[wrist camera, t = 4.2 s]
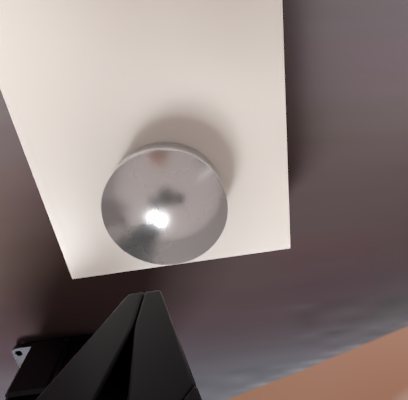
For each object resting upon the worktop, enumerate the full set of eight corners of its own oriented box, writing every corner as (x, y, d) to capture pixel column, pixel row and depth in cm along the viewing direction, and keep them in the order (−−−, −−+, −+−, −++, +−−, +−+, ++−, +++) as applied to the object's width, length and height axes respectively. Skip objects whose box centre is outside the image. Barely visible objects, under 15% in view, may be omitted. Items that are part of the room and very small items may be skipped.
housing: (272, 215, 21) (290, 248, 18) (92, 240, 21) (72, 279, 18) (245, -263, 13) (269, -393, 9) (-57, -213, 13) (-154, -320, 9)
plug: (222, 208, 20) (233, 255, 16) (134, 220, 20) (118, 272, 16) (211, 118, 18) (220, 141, 13) (112, 133, 18) (85, 161, 13)
